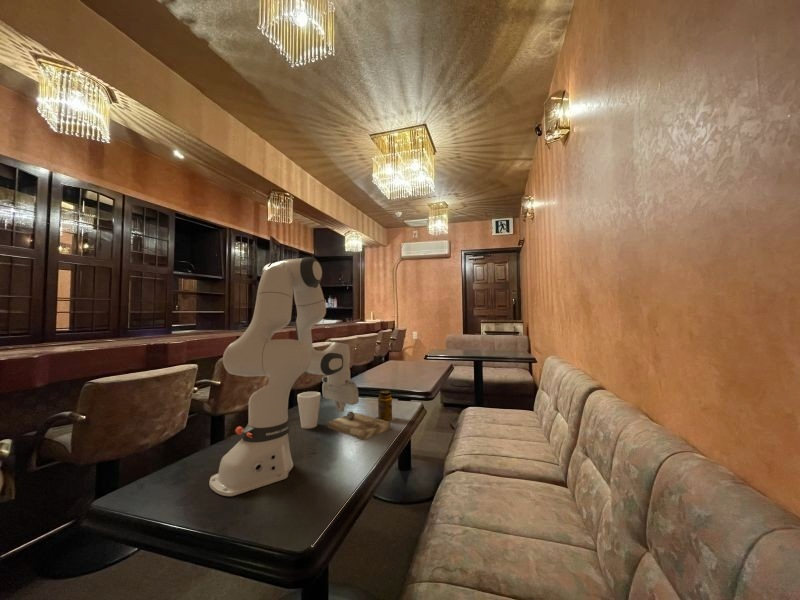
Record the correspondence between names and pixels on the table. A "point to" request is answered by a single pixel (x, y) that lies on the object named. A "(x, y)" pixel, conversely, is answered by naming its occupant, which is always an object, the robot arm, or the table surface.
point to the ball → (350, 415)
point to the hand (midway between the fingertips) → (340, 411)
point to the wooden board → (359, 426)
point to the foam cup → (309, 408)
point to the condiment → (385, 406)
